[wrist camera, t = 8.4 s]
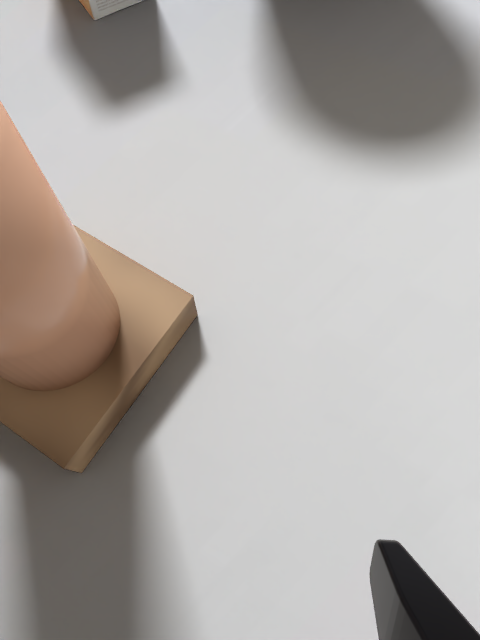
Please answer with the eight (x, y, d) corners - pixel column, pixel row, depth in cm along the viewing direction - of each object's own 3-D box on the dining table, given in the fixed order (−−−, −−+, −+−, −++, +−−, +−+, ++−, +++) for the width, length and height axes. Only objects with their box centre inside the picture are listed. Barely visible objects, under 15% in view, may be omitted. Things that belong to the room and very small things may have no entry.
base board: (81, 472, 23) (63, 468, 20) (-62, 367, 25) (-94, 352, 22) (197, 315, 26) (193, 295, 24) (61, 233, 28) (45, 208, 26)
